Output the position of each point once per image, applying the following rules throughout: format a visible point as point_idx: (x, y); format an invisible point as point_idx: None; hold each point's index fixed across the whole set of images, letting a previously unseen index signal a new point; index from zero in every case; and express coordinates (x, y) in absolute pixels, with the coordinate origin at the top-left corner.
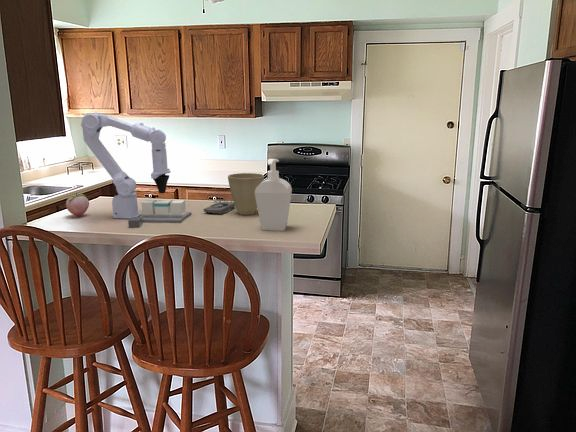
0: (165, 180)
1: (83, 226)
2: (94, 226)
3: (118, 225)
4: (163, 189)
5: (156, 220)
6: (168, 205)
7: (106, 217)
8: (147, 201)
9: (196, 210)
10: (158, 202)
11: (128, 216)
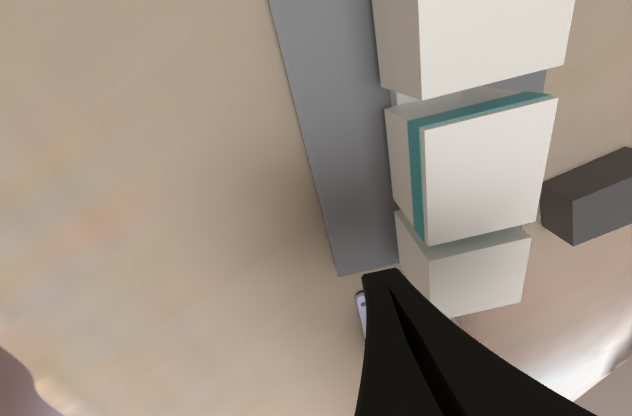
0: (510, 413)
1: (561, 347)
2: (566, 321)
3: (564, 259)
4: (421, 299)
5: None
6: (511, 97)
7: None
8: (484, 288)
9: (124, 34)
10: (530, 193)
11: None
